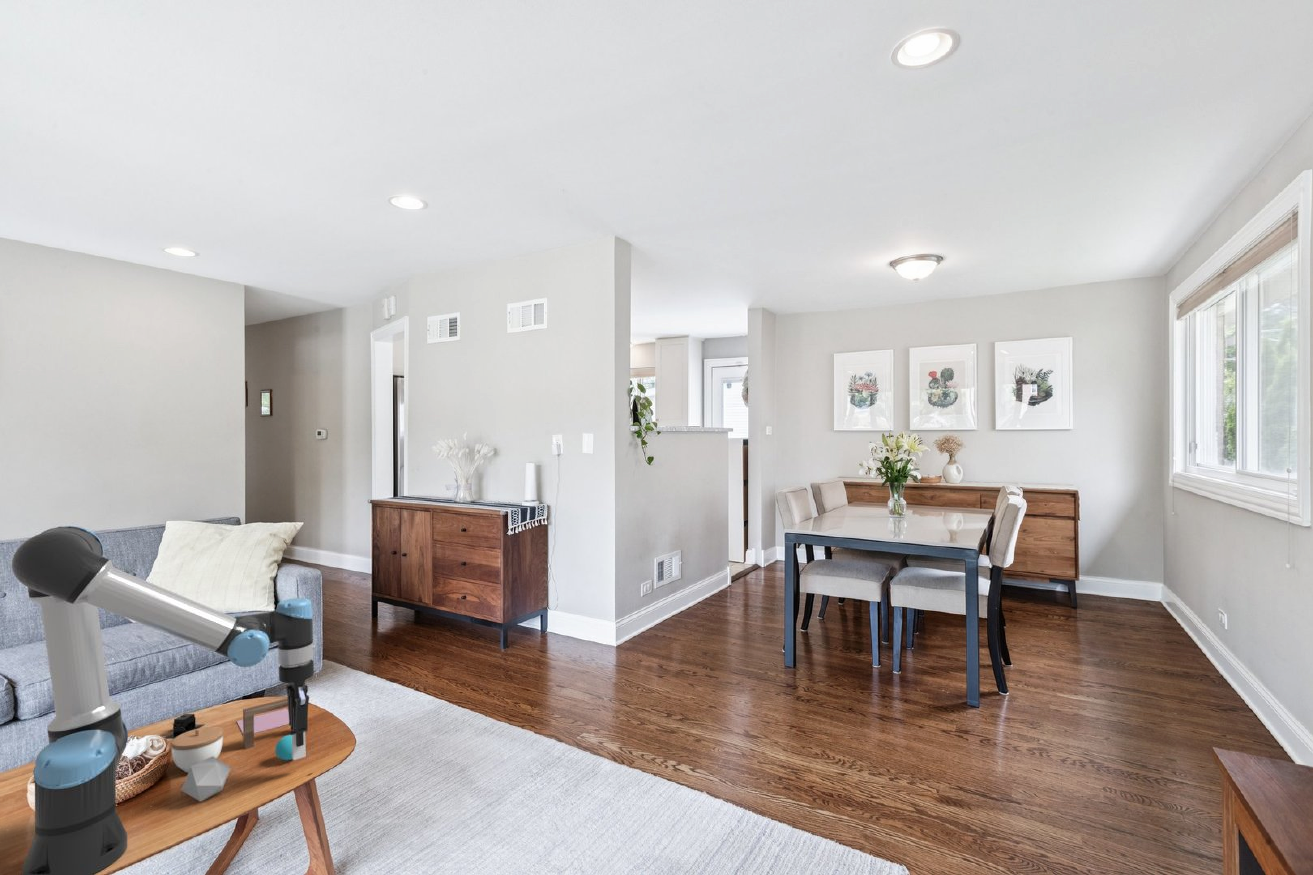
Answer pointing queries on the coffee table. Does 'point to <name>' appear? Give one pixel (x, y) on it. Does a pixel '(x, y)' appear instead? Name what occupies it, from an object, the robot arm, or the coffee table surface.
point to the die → (206, 778)
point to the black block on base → (184, 725)
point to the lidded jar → (196, 746)
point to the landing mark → (269, 721)
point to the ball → (284, 748)
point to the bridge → (249, 719)
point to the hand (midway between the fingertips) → (299, 757)
